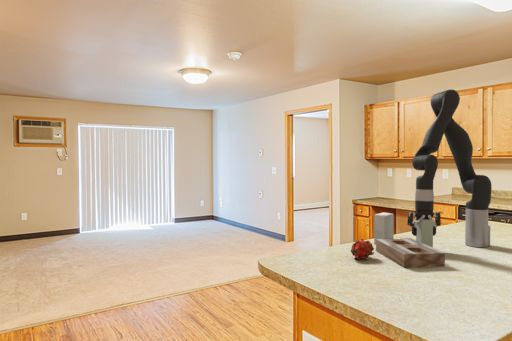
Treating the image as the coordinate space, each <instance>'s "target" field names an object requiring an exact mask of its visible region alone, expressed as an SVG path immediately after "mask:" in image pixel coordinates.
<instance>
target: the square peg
mask: <svg viewBox="0 0 512 341" xmlns="http://www.w3.org/2000/svg"><path fill="white" fill-rule="evenodd" d="M433 220H434V219H433ZM433 220H430V219H423V220H421V222H420V224H418V225H417V227H416V228H417V236H415V240H416V241H418V242H421V243H423V244H425V245H428V246H430V247H433V248H434V241H433V240H434V236H433Z"/></svg>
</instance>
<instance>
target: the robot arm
mask: <svg viewBox="0 0 512 341" xmlns="http://www.w3.org/2000/svg"><path fill="white" fill-rule="evenodd" d="M460 99H461V97H460V95H459V93H458V92H457V91H456V90H455V89H446V90H443V91H440V92H438V93H435V94H433V95H432V96H431V98H430V106H431V109H432V112H433V113H434V116H435V119H434V121H433V122H432V124H431V125H430V126H429V128H428V129H427V130H426V133H425V135H424V138H423V140H422V144H421V146H420V147H419V148H418V150H417V151H416V153H415V154H414V155H413V158H412V166H413V169H414V170H416V171H424V172H423V174H422V175H419V176H417V177H416V178H415V193H414V195H415V196H414V197H415V198H414V201H415V202H414V209H415V211H414V212H411V211H409V212H408V213H407V223H406V224H407V226H409V227H411V234H412V236H414V237H416V236H417V228H416V227H417V225H418V224H420V222H421V220H423V219H430V220H433V237H434V236H436V234H437V227H441V225H442V223H441V222H442V221H441V218H442V217H441V213H440V212H438V211H435V212H434V204H435V203H434V201H435V196H434V194H435V192H434V180H435V177H436V172H437V170H438V165H439V162H438V157H436V156H435V155H433V153H436V152H438V150H439V149H440V146H441V142H442V139H443V136H444V137H445V139H446V142H447V143H446V144H447V145H448V148H449V150H450V152H451V154H452V158H453V161H454V163H455V166H456V168H457V172H458V175H459V179H460V183H461V187H462V188H463V191H464V192H466V193H468V194H471V199H470V200H469V201H467V202H465V221H464V222H465V225H464V226H465V227H464V228H465V229H464V230H465V231H464V232H465V234H464V237H465V239H464V240H465V241H464V243H465V245H466V246H469V247H475V248H487V247H491V225H489V206H490V204H491V200H492V187H493V186H492V180H491V179H490V178H489V177H488V176H487V175H483V174H476V172H475V170H474V167H473V163H472V158H473V151H474V148H473V143H472V141H471V138H470V136H469V133H468V132H467V131H466V130H465V129H464V127H462V126H461V125H460V124H459V123H457V121H455V119H454V118H453V116H454V114H455V113H456V110H457V109H458V106H459V104H460ZM414 217H415V218H414ZM433 217H434V219H433Z"/></svg>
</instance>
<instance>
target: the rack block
mask: <svg viewBox="0 0 512 341" xmlns="http://www.w3.org/2000/svg"><path fill="white" fill-rule="evenodd" d="M375 251H376V253H379V254H380V255H382V256H383V257H385V258H388V259H389V260H390V261H391V262H393V263H395V264H397V265H399V266H400V267H402V268H403V269H405V268H406V269H408V268H410V269H411V268H413V269H414V268H415V269H416V268H437V267H439V268H441V267H443V268H444V267H446V252H444V251H442V250H439V249H437V248H435V247H434V246H433V247H430V246H428V245H425V244H423V243H421V242H418V241H416V239H413V238H411V237H409V238H408V237H404V238H403V237H402V238H393V239H376V244H375Z"/></svg>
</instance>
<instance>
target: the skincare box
mask: <svg viewBox="0 0 512 341" xmlns="http://www.w3.org/2000/svg"><path fill="white" fill-rule="evenodd" d="M394 218H395V214H394V213H390V212H383V211H382V212H380V213H376V214H374V217H373V219H374V222H373V223H374V224H373V227H374V228H373V231H374V232H373V244H374V245H376V239H394V234H395V233H394V230H395V228H394V227H395V226H394V224H395V223H394V222H395V219H394Z"/></svg>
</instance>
